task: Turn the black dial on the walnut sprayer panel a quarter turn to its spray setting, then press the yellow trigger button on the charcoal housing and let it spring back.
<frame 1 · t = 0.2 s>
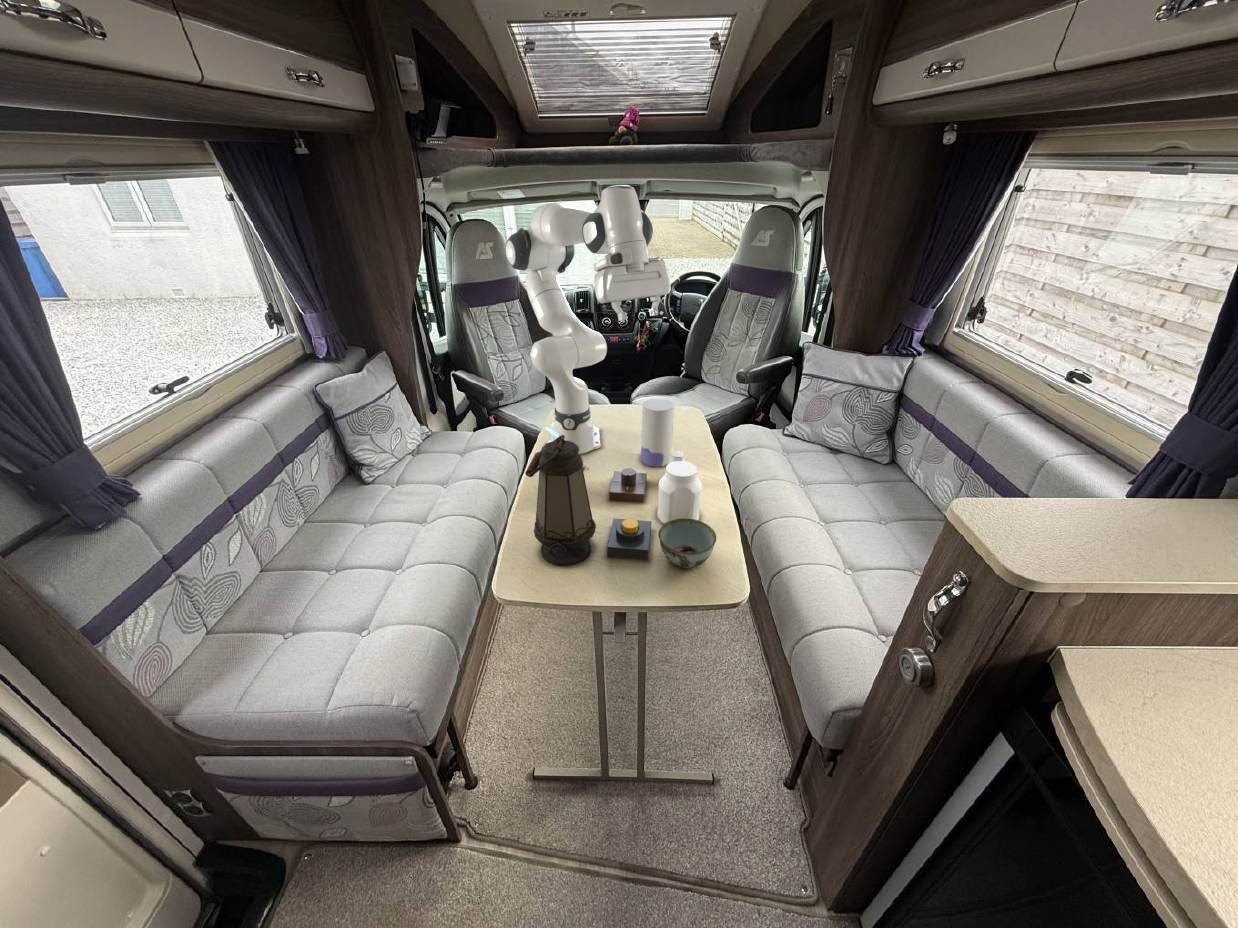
hand: (639, 318, 122), 51 cm above the table, tool tilted 20°, fingers open, 8 cm apart
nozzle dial: (628, 476, 147), point 5 cm above the table, hinge at 0.0°
bowl: (684, 561, 121), on the table
trigger: (630, 526, 124), point 5 cm above the table, slide at 0.1 cm
bull figurine: (573, 493, 148), on the table
dial panel: (628, 490, 149), on the table
trigger housing: (629, 543, 127), on the table
supplement bottle: (675, 482, 154), on the table
lantern: (566, 549, 125), on the table
jar: (678, 516, 138), on the table
container: (655, 460, 166), on the table
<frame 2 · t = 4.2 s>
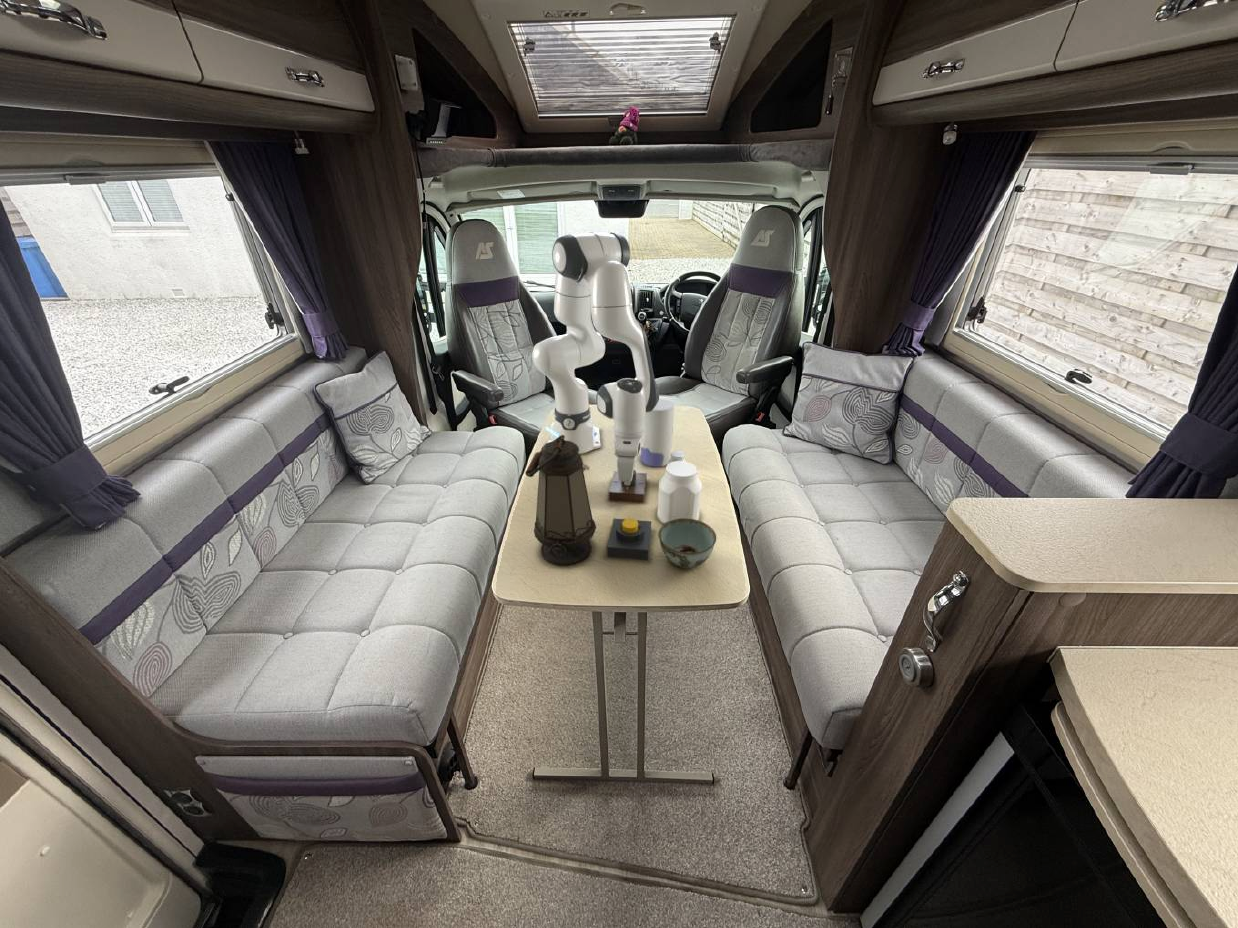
hand: (628, 479, 147), 4 cm above the table, tool pointing down, fingers closed on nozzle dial, 4 cm apart
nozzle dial: (628, 476, 147), point 5 cm above the table, hinge at 0.0°, touching gripper
everything else where it was.
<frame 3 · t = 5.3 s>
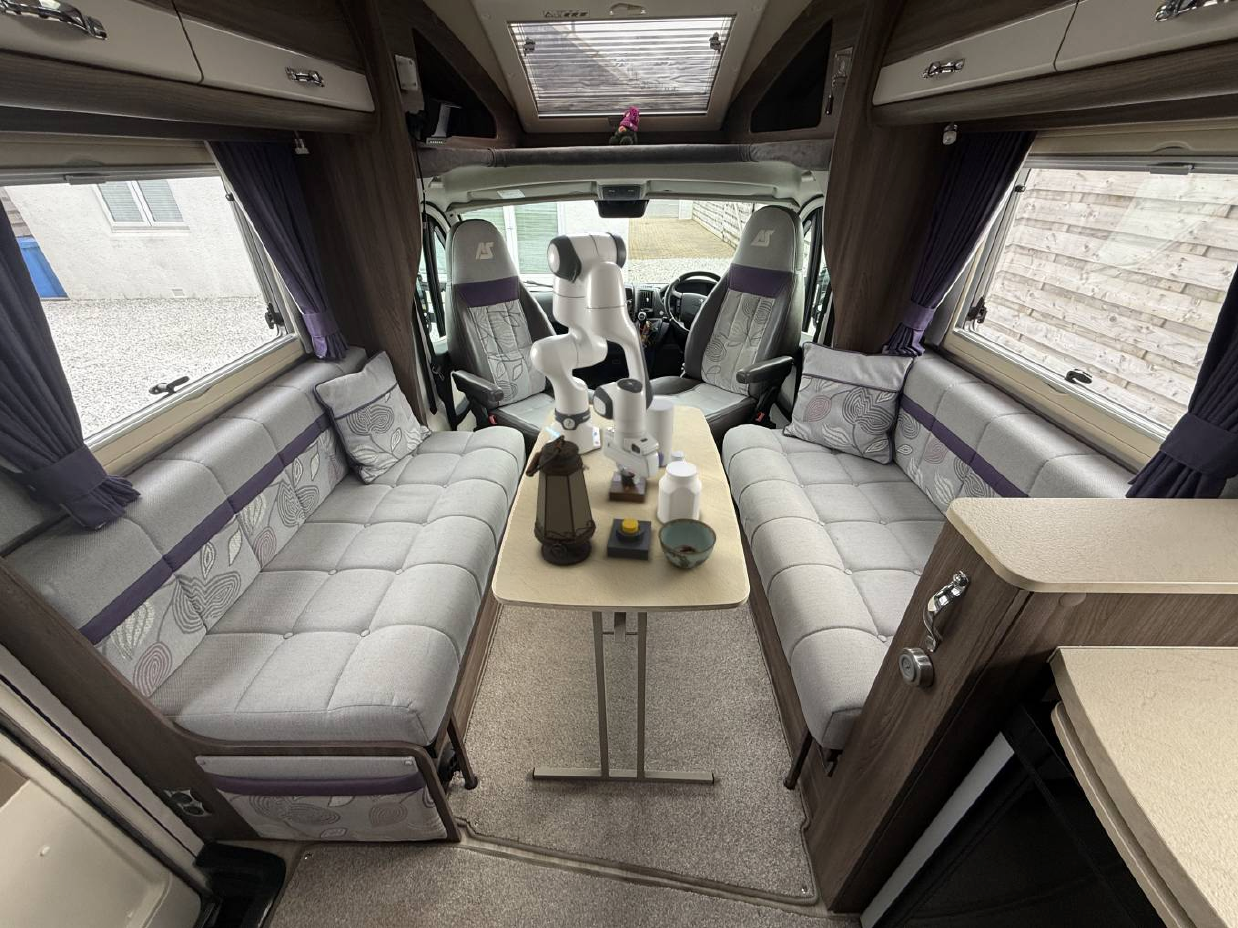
hand: (628, 479, 147), 4 cm above the table, tool pointing down, fingers closed on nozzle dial, 4 cm apart
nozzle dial: (628, 476, 147), point 5 cm above the table, hinge at 48.6°, touching gripper
everything else where it was.
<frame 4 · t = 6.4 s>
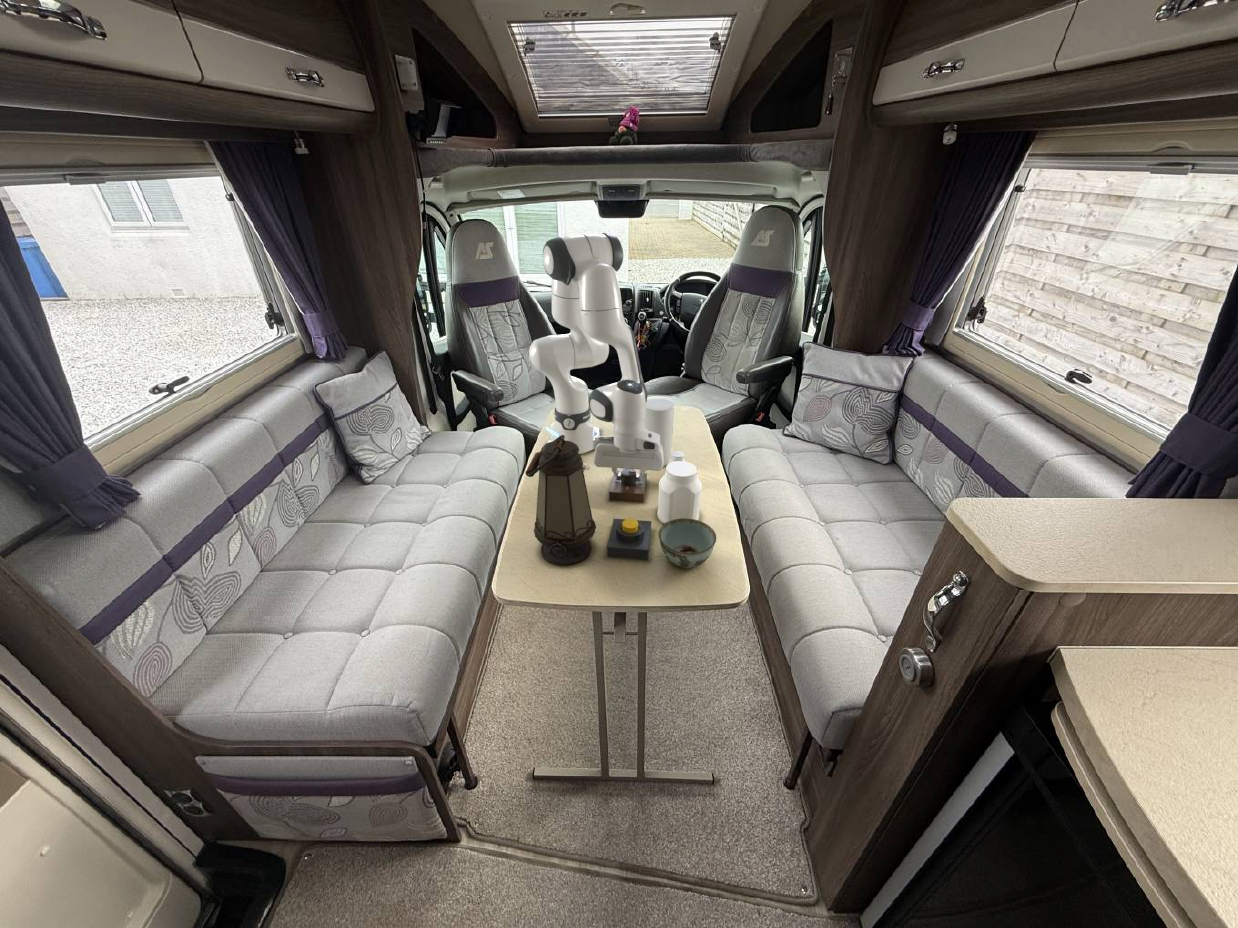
hand: (628, 480, 147), 4 cm above the table, tool pointing down, fingers open, 5 cm apart
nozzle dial: (628, 476, 147), point 5 cm above the table, hinge at 90.1°
everything else where it was.
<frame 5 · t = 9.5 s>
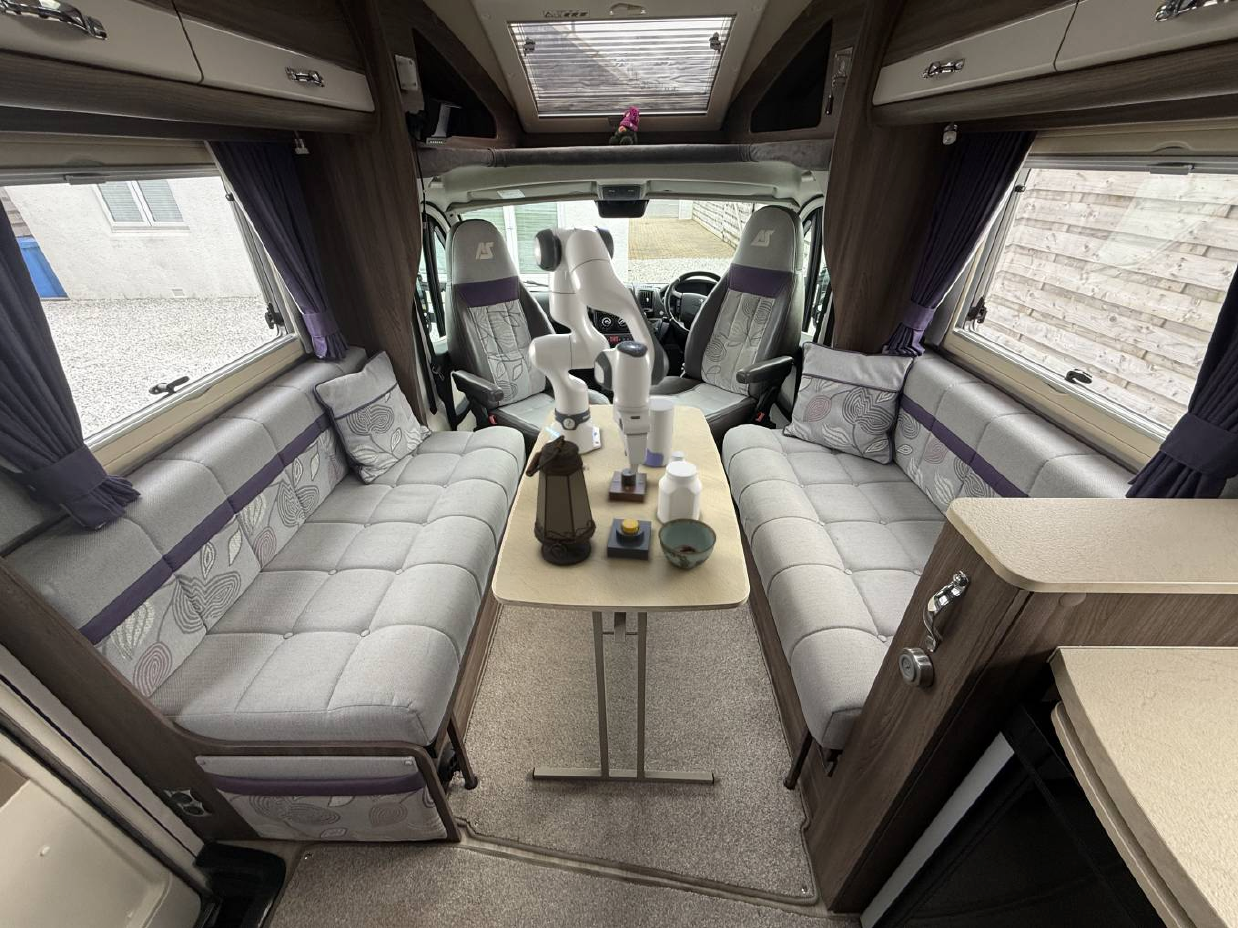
hand: (630, 463, 125), 19 cm above the table, tool pointing down, fingers open, 8 cm apart
nothing on the table moved.
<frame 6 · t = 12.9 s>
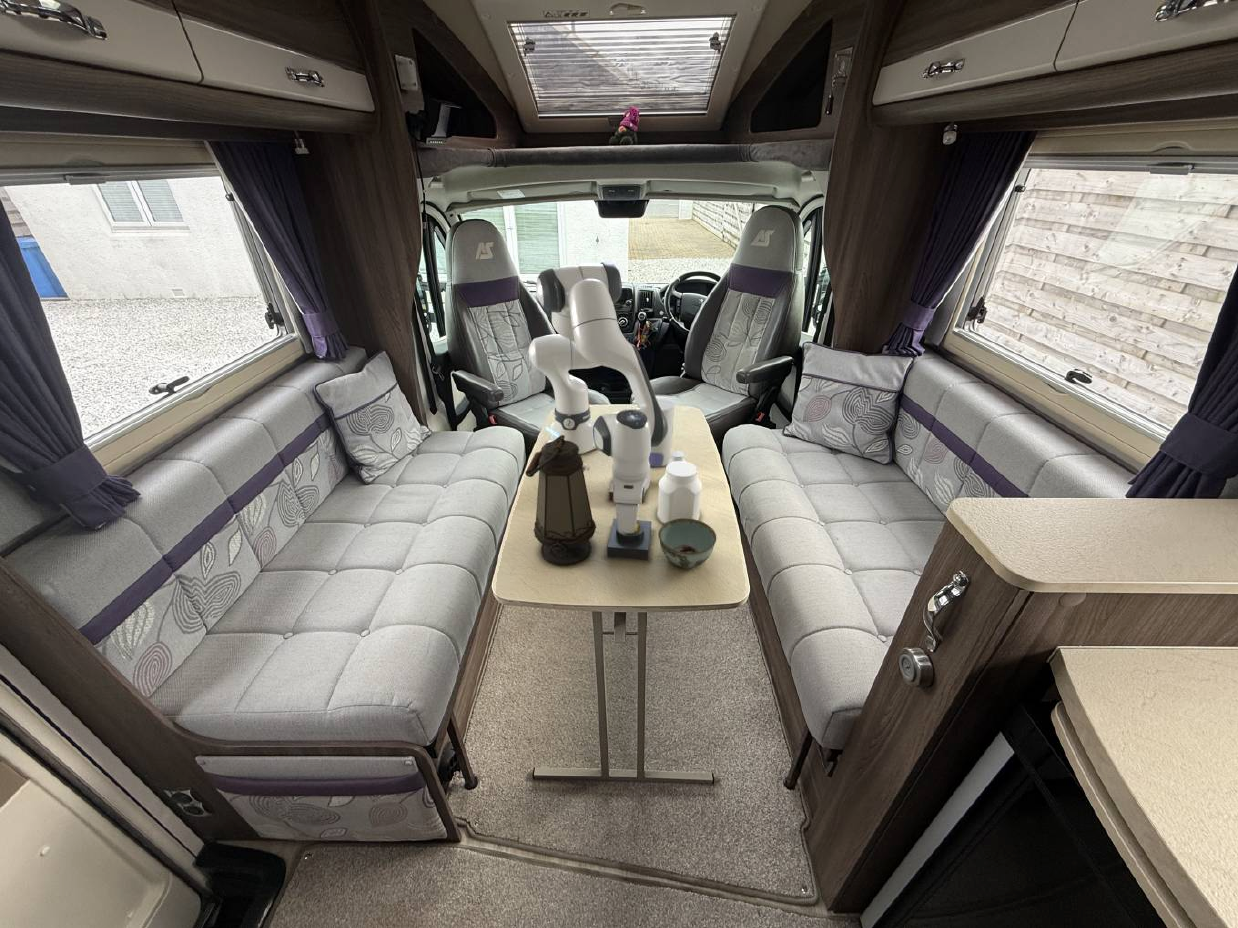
hand: (630, 525, 124), 6 cm above the table, tool pointing down, fingers closed, pressing on trigger
trigger: (630, 528, 125), point 5 cm above the table, slide at -0.6 cm, touching gripper
everything else where it was.
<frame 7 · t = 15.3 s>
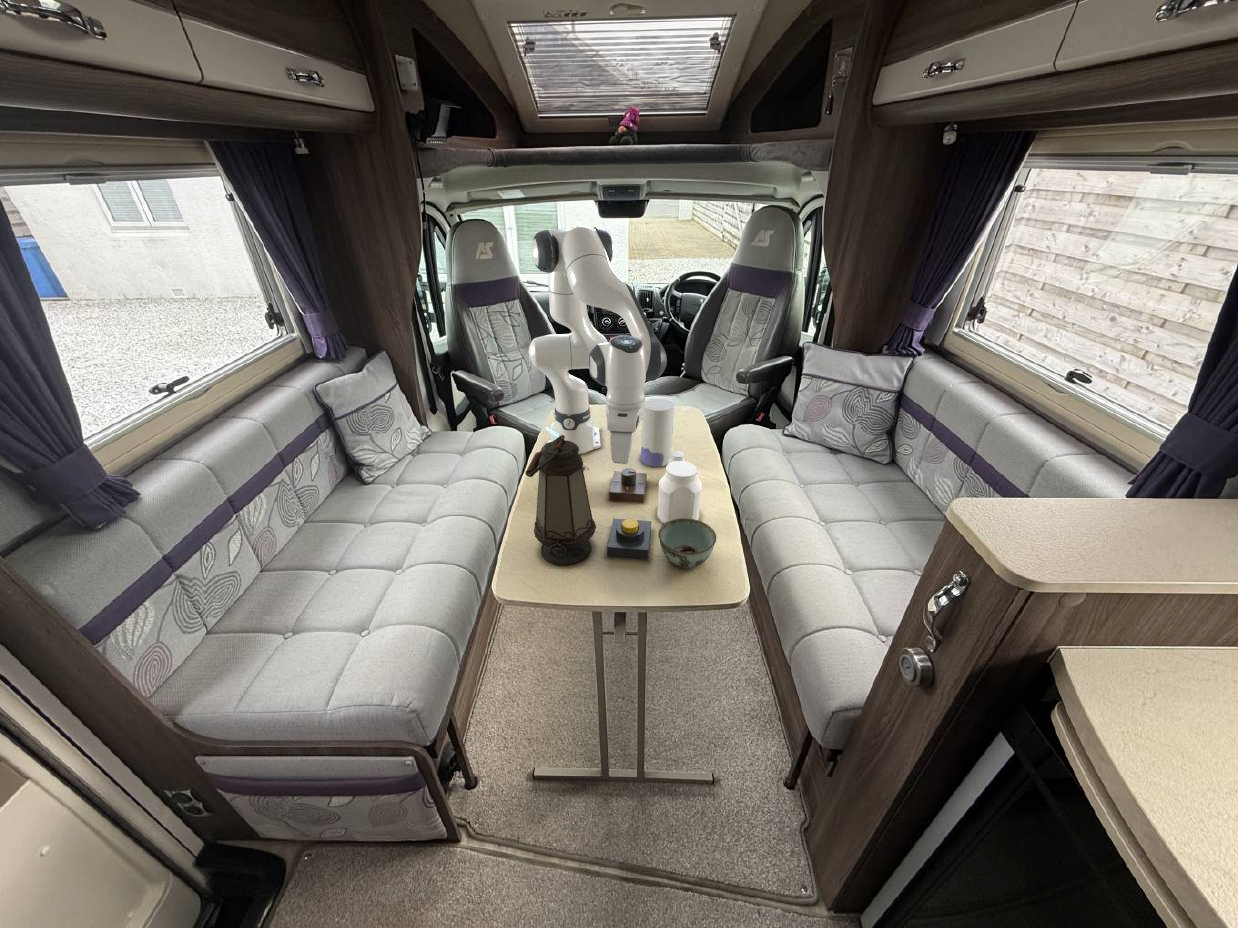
hand: (624, 461, 121), 21 cm above the table, tool pointing down, fingers closed
trigger: (630, 526, 124), point 5 cm above the table, slide at 0.1 cm
everything else where it was.
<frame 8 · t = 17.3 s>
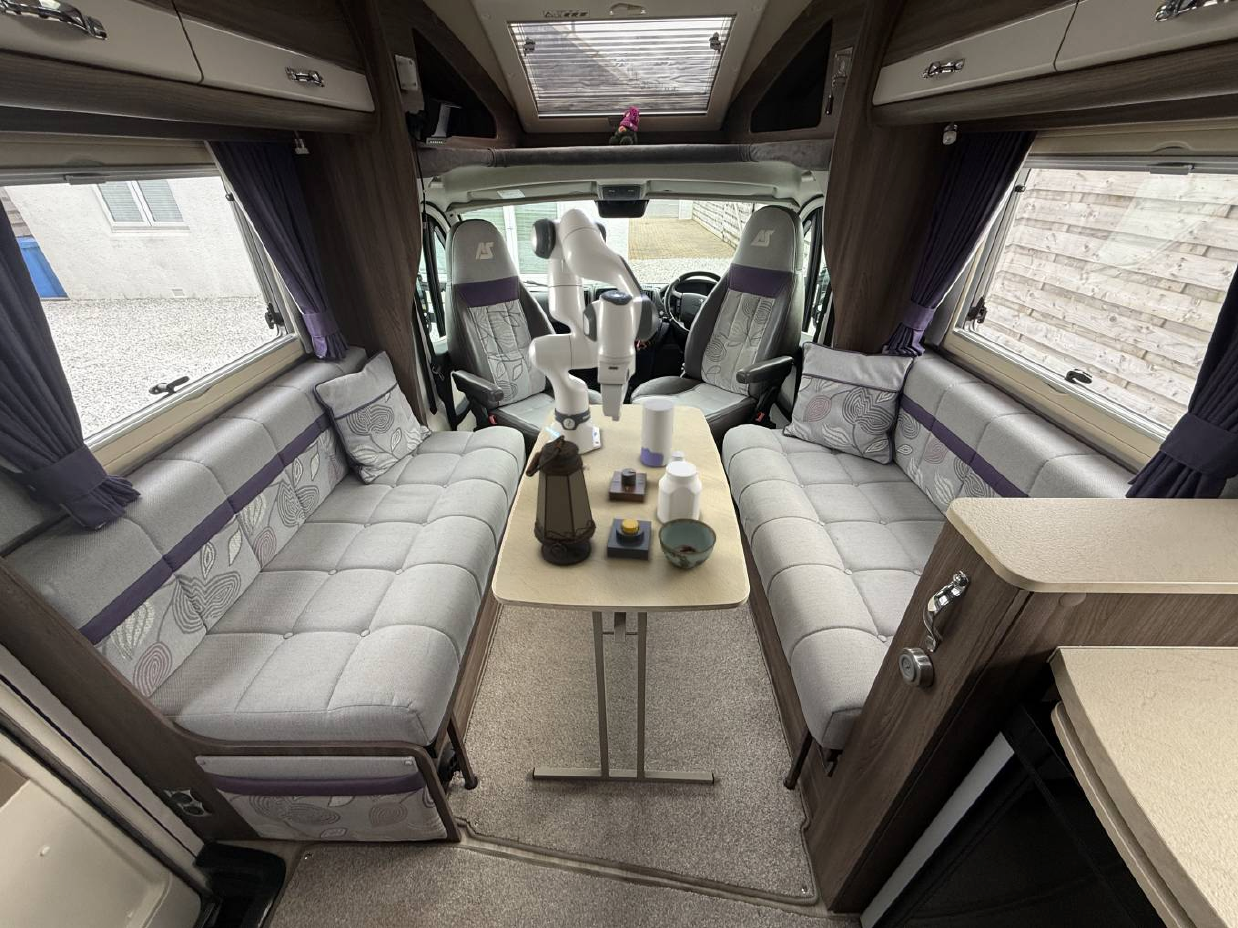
hand: (616, 419, 124), 29 cm above the table, tool pointing down, fingers closed
nothing on the table moved.
at the end: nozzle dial at +90° (first picture: +0°); trigger pushed in 1.0 cm at the most during the clip, back to where it started at the end; trigger slide at 0.1 cm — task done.
